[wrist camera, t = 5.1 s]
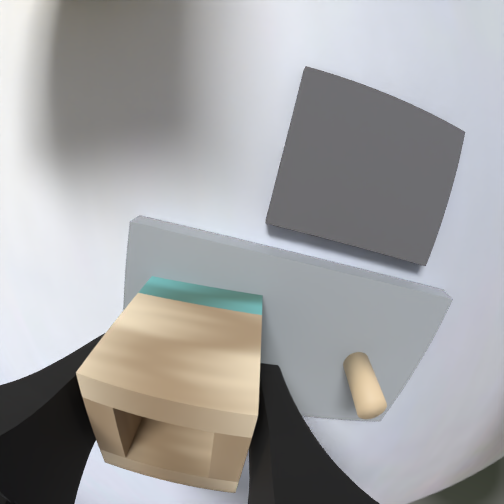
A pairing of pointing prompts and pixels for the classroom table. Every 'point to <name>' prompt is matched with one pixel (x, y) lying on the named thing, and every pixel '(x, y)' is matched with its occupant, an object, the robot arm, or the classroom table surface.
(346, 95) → the pad
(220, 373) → the sleeve
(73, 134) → the classroom table surface
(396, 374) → the pin board
